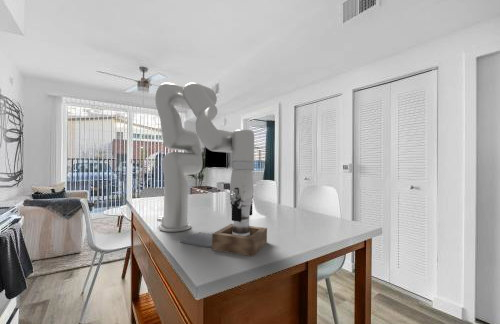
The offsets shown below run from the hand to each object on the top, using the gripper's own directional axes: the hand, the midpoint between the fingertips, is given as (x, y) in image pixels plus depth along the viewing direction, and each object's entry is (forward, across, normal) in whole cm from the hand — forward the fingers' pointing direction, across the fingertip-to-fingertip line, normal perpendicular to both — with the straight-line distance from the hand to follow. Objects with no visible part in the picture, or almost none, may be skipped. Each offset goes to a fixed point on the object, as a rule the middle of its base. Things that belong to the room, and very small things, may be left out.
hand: (242, 217), depth 81 cm
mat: (+9, 0, -15) cm, 17 cm away
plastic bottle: (+10, 0, -1) cm, 10 cm away
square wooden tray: (+9, 0, -1) cm, 9 cm away
